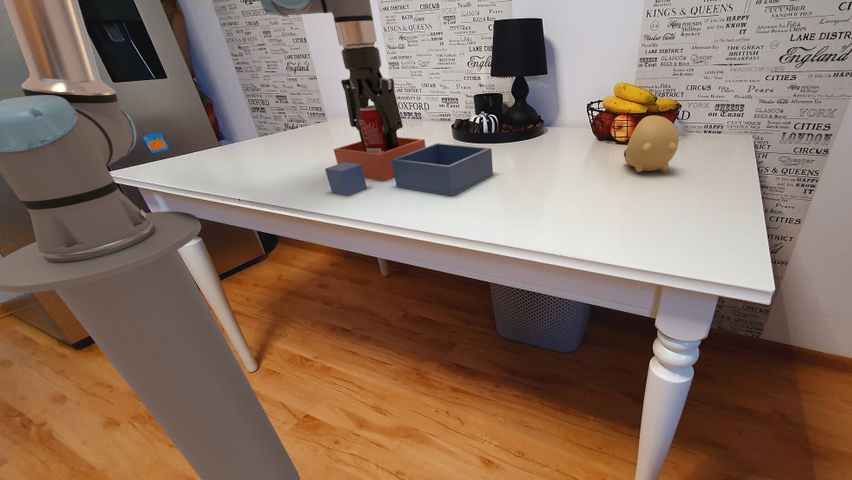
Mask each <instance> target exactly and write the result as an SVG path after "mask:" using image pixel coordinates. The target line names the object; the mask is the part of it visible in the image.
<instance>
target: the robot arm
mask: <svg viewBox="0 0 852 480" xmlns="http://www.w3.org/2000/svg"><path fill="white" fill-rule="evenodd" d="M259 2H260V5H261V7H262V9H263V11H264V12H265V13H266V14H267V15H270V16H283V17H288V16H292V15H293V16H296V15H298V16H299V15H312V14H313V15H314V14H329V13H330V14H332V16H333V22H334V26H335V32H336V35H337V40H338V45H339V46H341V47H343V49H341V56H342V61H343V65H344V68H345V69H346V70H348V71H349V77H348V78H345V79H341V81H340V83H341V86H342V88H343V91H344V95H345V101H346V108H347V113H348V119H349V125H350V127H352V128H355V129H356V130H357V131H358V134H359V137H360V141H361V142H362V144H363V146H364V151H365V152H366V148H365V144H364V140H363V135H362V131H361V126H360V122H359V114H360V108H361V107H362V108H366V107H367V106H369V101H371V102H372V103H373V105H375V107H376V110H377V112H378V114H379V116H380V119H381V121H382V123H383V126H384V128H385V130H386V131H384V133H383V134H384V139H385V144H386V149H387V151H388V150H391V149H394V148H397V146H398V138H397V137H398V133H397V131H398V130H400V129H402V128H403V127H404V126H403V120H402V117H401V112H400V109H399V105H398V100H397V97H396V93H395V80H394V79H393V78H392V77H391V78H386V77H383V74H382V73H381V67H382V65H383V64H382V59H381V53H380V49H379V48H378V47H377V46H376V45H377V43H378V39H377V33H376V28H375V22H374V17H373V10H372V6H371V0H259ZM3 4H4V6H5V9H6V12H7V15H8V17H9V20H10V22H11V25H12V28H13V31H14V33H15V36H16V39H17V41H18V44H19V47H20V50H21V53H22V56H23V58H24V61H25V63H26V66H27V69H28V72H29V77H28V78H26V79H25V80H24V82H23V83H21V84H20V87H21V89H22V91H23V94H24V96H20V97H19V96H18V97H11V98H5V99H2V100H0V175H1V177H3V179H4V180H5V181H6V182H7V184H8V185H9V187H10V188H11V189H12V191H13V192H14V193H15V195H16V196H17V198H18V199H19V200H20V202H21V203H22V205H23V206H24V208H25V209H26V210H27V211H28V213H29V215H30V219H31V224H32V229H33V233H34V237H35V242H37V246H38V249H39V252H40V253H41V254H42V256H43V257H44V258H45V260H47V261H48V262H52V263H70V262H78V261H84V260H89V259H94V258H98V257H102V256H106V255H109V254H113V253H116V252H119V251H122V250H124V249H127V248H130V247H132V246H134V245H137V244H139V243H141V242H143V241H144V240H146V239H148V238H149V237H150V236H152V235H153V234H154V233H155V230H156V229H155V227H154V225H153V223H152V221H151V220H150V219H149V218H148V217H147V216H146V213H147V212H145V211H144V210H143V209H142V208H141V209H140V208H139V207H138V206H137V205H135V204H134V203H133V202H132V201H131V200H130V199H129V197H127V196H126V195H125V194H124V193H123V192H122V191H121V190H120V188H119V187H118V185H117V183H116V181H115V179H114V178H113V176H112V174H111V172H110V171H109V169H108V166H110V165H112V164H116V163H119V162H120V161H122V160H123V159H125V158H126V157H127V156H128V155H129V154H130V153H131V151H132V150H133V149H134V147H135V146H136V142H137V129H136V126H135V124H134V122H133V119H132V118H131V117H130V115H129V114H128V113H127V112H126V111H125V110H124V109H122V107H121V106H120V103H119V99H118V96H117V95H118V94H117V92H116V90H115V89H113V87H111V86H109V85H108V84H107V83H105V82H104V80H102V79H101V75H100V72H99V68H98V65H97V62H96V57H95V55H94V51H93V48H92V45H91V41H90V38H89V34H88V31H87V27H86V24H85V21H84V17H83V14H82V10H81V7H80V4H79V0H3ZM389 124H390V126H389Z"/></svg>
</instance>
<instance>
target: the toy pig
mask: <svg viewBox="0 0 852 480" xmlns="http://www.w3.org/2000/svg"><path fill="white" fill-rule="evenodd" d="M678 132H679V131H678V129H677V127H676V126H675V125H674V123H673V122H672V121H671V120H670V119H668V118H666V117H664V116H660V115H648V116H645V117H643V118H641V120H640V121H639V122H638V124H637V125H636V127H635V128H634V130H633V132H632V133H631V136H630V138H629V141H628V142H627V146H626V149H625V150H624V152H623V157H624V161H625V163H626V164H627V165H629V166H631V167H634V168H635V171H636V172H637V173H641V172H654V171H657V170H661V171H662V172H665V171H667V170H668V169H669V163H670V162H671V160H672V159H673V158H674V156H675V155H676V152H677V150H678V148H679V141H680V139H679V133H678Z"/></svg>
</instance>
